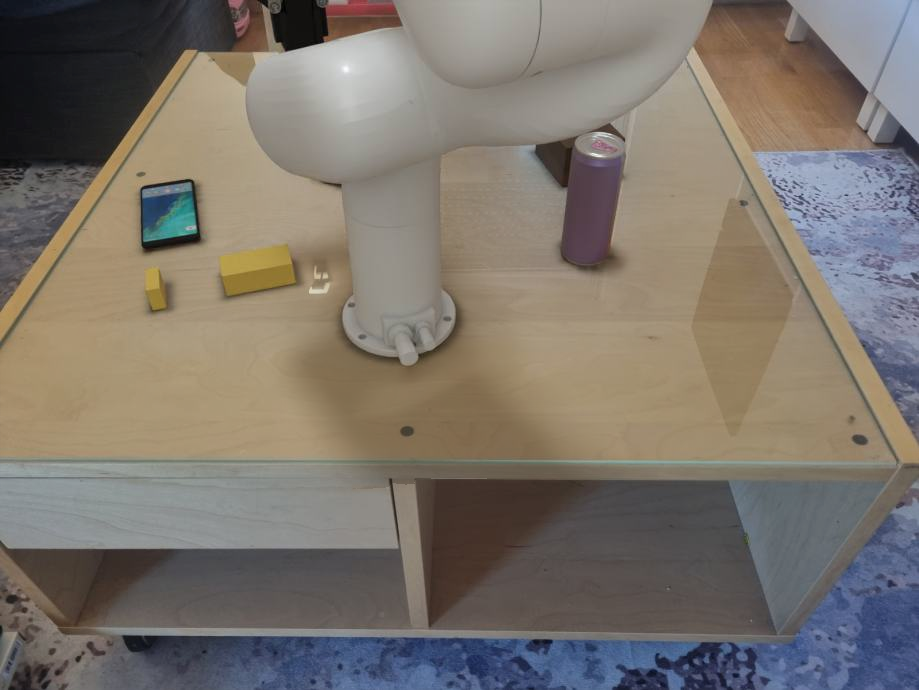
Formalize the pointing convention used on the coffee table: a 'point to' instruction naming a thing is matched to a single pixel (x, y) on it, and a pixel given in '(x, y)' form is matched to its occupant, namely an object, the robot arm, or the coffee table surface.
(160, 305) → the butter pat
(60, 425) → the coffee table surface
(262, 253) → the butter
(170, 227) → the smartphone
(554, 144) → the tissue box
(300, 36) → the knife
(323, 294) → the coffee table surface
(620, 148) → the beverage can
